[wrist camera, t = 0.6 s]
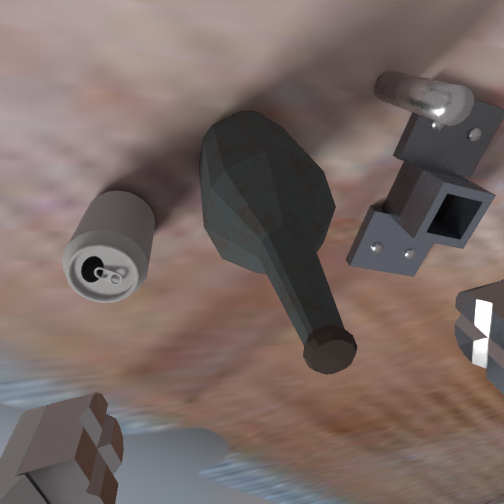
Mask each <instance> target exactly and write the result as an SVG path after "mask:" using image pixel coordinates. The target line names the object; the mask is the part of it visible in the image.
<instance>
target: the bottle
mask: <svg viewBox="0 0 504 504" xmlns="http://www.w3.org/2000/svg"><path fill="white" fill-rule="evenodd" d="M199 175H200V186H201V198H202V210H203V221H204V228H205V230H206V231H207V233H208V235H209V237H210V238H211V240H212V242H213V243H214V245H215V247H216V249H217V250H218V252H219V254H220V255H221V257H222V259H224V260H227V261H229V262H232V263H234V264H236V265H239V266H241V267H244V268H246V269H249V270H251V271H253V272H256V273H261V274H267V275H268V277H269V279H270V281H271V283H272V285H273V287H274V289H275V291H276V293H277V295H278V297H279V299H280V300H281V302H282V304H283V306H284V308H285V310H286V312H287V314H288V316H289V318H290V320H291V322H292V324H293V325H294V327H295V329H296V331H297V333H298V335H299V337H300V339H301V341H302V343H303V345H304V353H303V357H304V359H305V361H306V363H307V365H308V366H309V367H310V368H311V369H313V370H314V371H317V372H320V373H323V374H333V373H336V372H338V371H341V370H343V369H345V368H347V367H348V366H349V365H350V364H351V363H352V361H353V359H354V357H355V354H356V351H357V345H356V342H355V340H354V337H353V335H352V334H350V333H349V332H348V331H346V330H345V329H344V326H343V323H342V320H341V318H340V315H339V312H338V310H337V307H336V304H335V301H334V299H333V296H332V293H331V291H330V288H329V285H328V282H327V280H326V277H325V274H324V272H323V269H322V266H321V263H320V261H319V258H318V255H317V251H318V250H319V248H320V247H321V245H322V244H323V242H324V239H325V237H326V234H327V231H328V228H329V225H330V222H331V219H332V216H333V213H334V211H335V208H336V206H335V203H334V200H333V197H332V194H331V191H330V188H329V186H328V183H327V180H326V177H325V174H324V171H323V170H322V169H321V168H320V167H319V166H318V165H317V164H316V163H315V162H314V161H313V160H312V159H311V157H310V156H309V155H308V154H307V153H306V152H305V151H304V150H303V149H302V148H301V147H300V146H299V145H298V144H297V143H296V142H295V141H294V140H293V138H292V137H291V136H290V135H289V134H288V133H287V132H286V131H285V130H284V129H283V128H282V127H281V126H279V125H277V124H276V123H274V122H272V121H271V120H269V119H267V118H266V117H264V116H262V115H260V114H259V113H257V112H244V111H240V112H238V113H236V114H234V115H232V116H230V117H228V118H226V119H224V120H222V121H220V122H218V123H216V124H214V125H212V127H211V128H210V129H209V131H208V132H207V133H206V135H205V136H204V138H203V143H202V150H201V156H200V163H199Z"/></svg>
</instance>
